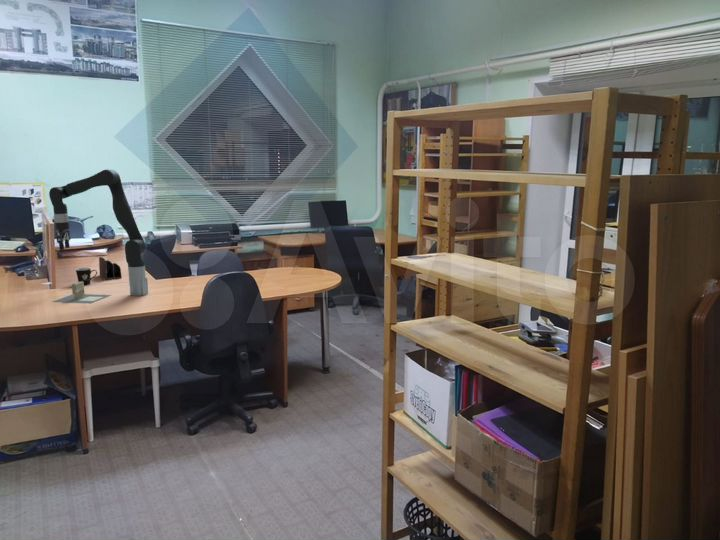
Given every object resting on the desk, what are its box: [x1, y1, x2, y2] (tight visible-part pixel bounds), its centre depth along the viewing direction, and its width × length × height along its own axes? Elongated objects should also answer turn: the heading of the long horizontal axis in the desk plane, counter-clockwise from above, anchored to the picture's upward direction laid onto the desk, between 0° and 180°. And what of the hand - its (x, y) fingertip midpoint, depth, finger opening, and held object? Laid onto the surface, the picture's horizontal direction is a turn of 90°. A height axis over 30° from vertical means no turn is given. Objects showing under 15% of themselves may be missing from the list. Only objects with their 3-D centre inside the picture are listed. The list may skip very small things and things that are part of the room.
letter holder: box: [98, 256, 122, 281], centre depth 372 cm, size 10×20×14 cm, turn 37°
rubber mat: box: [51, 293, 112, 304], centre depth 307 cm, size 24×20×1 cm
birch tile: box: [71, 281, 86, 300], centre depth 306 cm, size 3×7×9 cm, turn 173°
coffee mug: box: [75, 267, 98, 286], centre depth 348 cm, size 12×9×10 cm
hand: (64, 248), depth 318 cm, fingers open, 8 cm apart
